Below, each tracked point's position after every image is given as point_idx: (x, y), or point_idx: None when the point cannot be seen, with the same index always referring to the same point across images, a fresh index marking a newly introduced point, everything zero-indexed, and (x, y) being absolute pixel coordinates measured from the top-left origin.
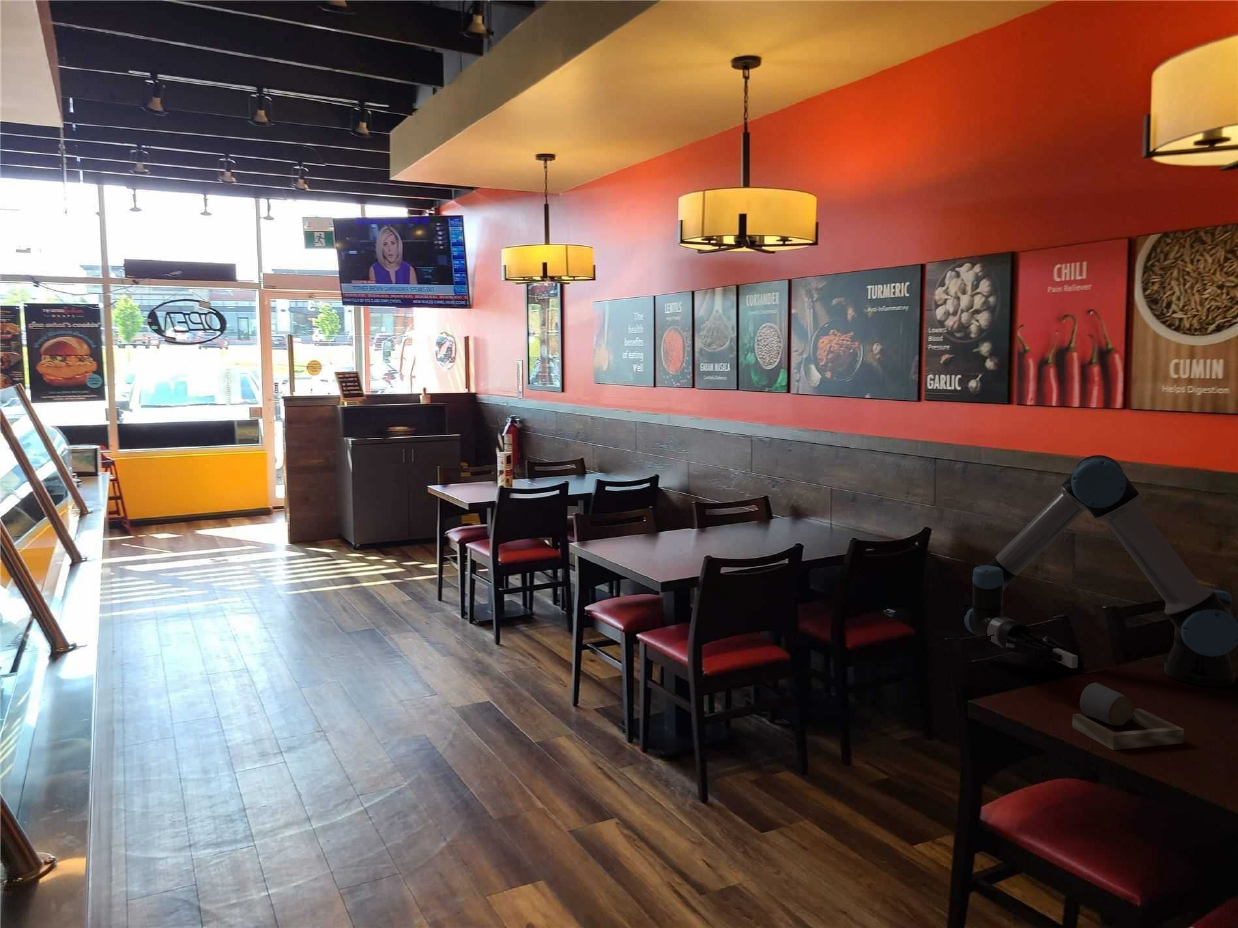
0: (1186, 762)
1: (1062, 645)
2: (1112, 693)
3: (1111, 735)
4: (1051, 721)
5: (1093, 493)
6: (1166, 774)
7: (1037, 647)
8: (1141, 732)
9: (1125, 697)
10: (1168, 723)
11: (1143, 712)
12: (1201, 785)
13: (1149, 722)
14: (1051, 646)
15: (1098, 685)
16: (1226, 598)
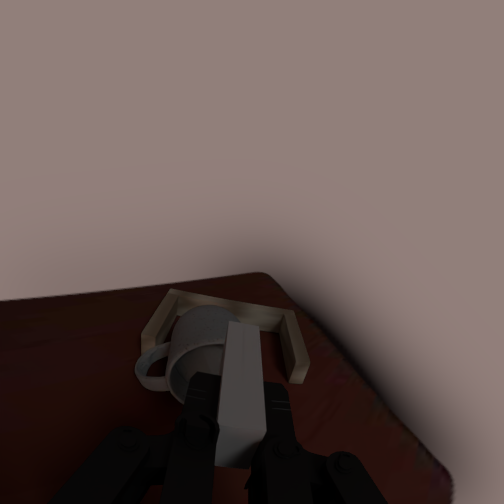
0: (222, 295)
1: (104, 457)
2: (221, 312)
3: (293, 313)
4: (328, 409)
5: None
6: (269, 294)
7: (354, 488)
8: (242, 304)
9: (201, 305)
10: (168, 299)
11: (157, 325)
12: (253, 281)
13: (166, 326)
14: (210, 494)
15: (220, 331)
16: None
